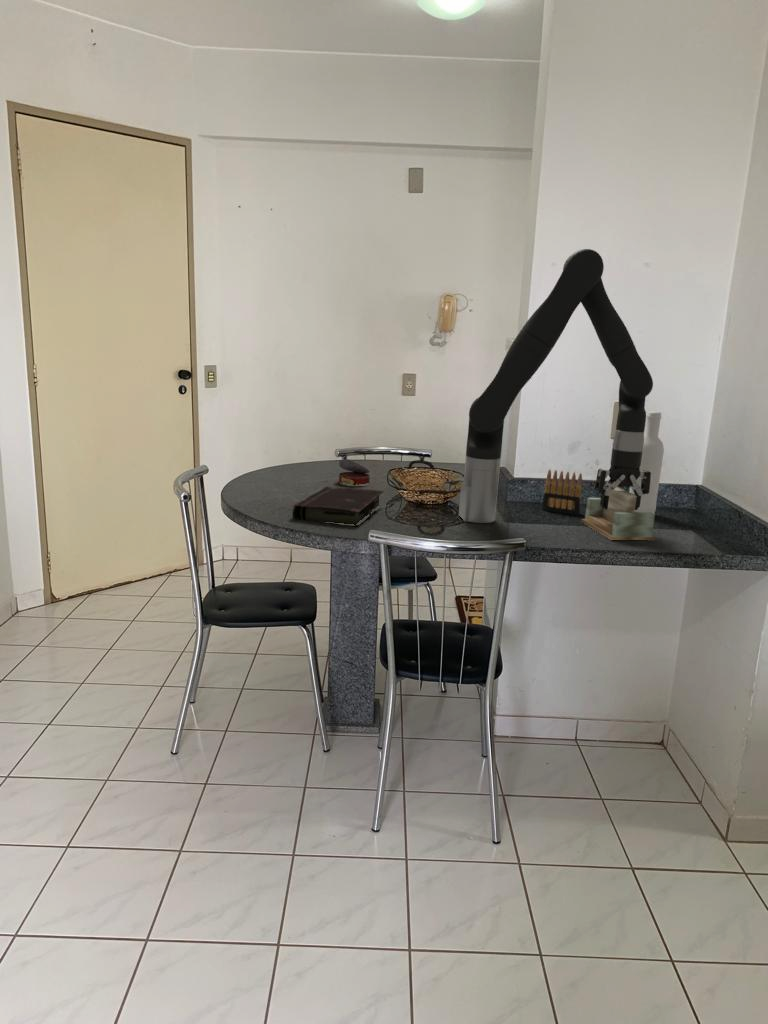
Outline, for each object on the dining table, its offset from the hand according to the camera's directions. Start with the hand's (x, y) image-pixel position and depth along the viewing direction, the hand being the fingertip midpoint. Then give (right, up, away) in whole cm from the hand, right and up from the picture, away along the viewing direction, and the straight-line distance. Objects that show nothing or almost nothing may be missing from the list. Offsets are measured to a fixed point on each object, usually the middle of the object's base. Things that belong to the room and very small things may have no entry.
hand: (619, 508), depth 199 cm
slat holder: (0, -6, +1) cm, 6 cm away
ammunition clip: (-11, -1, +20) cm, 23 cm away
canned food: (-72, +8, +43) cm, 84 cm away
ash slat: (0, -5, +1) cm, 5 cm away
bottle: (+13, -2, +23) cm, 26 cm away
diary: (-74, -2, +5) cm, 74 cm away
